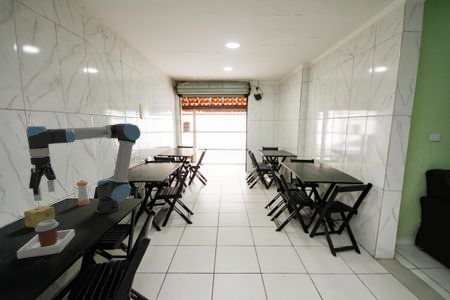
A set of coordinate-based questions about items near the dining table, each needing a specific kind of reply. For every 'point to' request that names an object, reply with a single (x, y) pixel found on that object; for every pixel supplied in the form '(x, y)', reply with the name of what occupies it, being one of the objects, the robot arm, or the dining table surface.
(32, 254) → the white square tray
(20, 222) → the dining table surface
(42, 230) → the coffee cup
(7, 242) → the dining table surface
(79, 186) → the salt shaker
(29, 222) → the cheese
